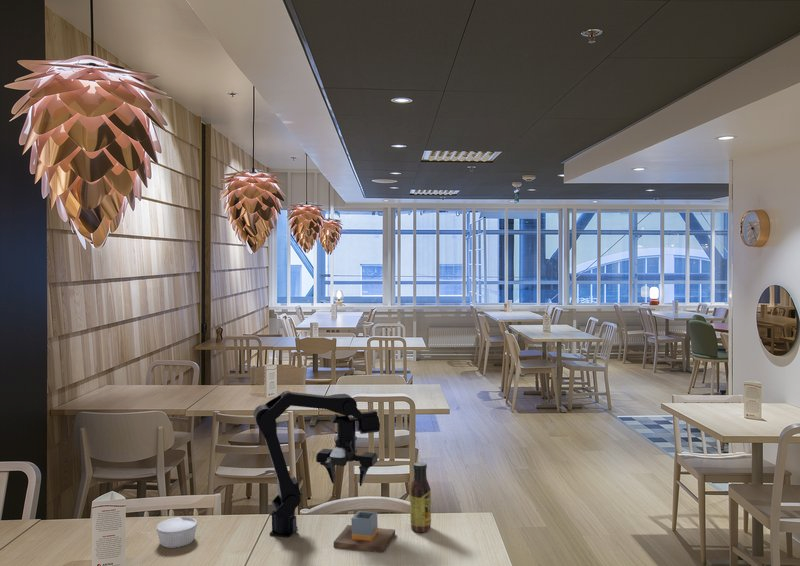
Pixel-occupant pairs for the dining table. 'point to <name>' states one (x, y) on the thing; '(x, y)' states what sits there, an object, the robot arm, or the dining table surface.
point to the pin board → (376, 544)
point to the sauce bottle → (420, 499)
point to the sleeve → (364, 525)
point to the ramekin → (176, 531)
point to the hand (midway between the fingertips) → (347, 484)
